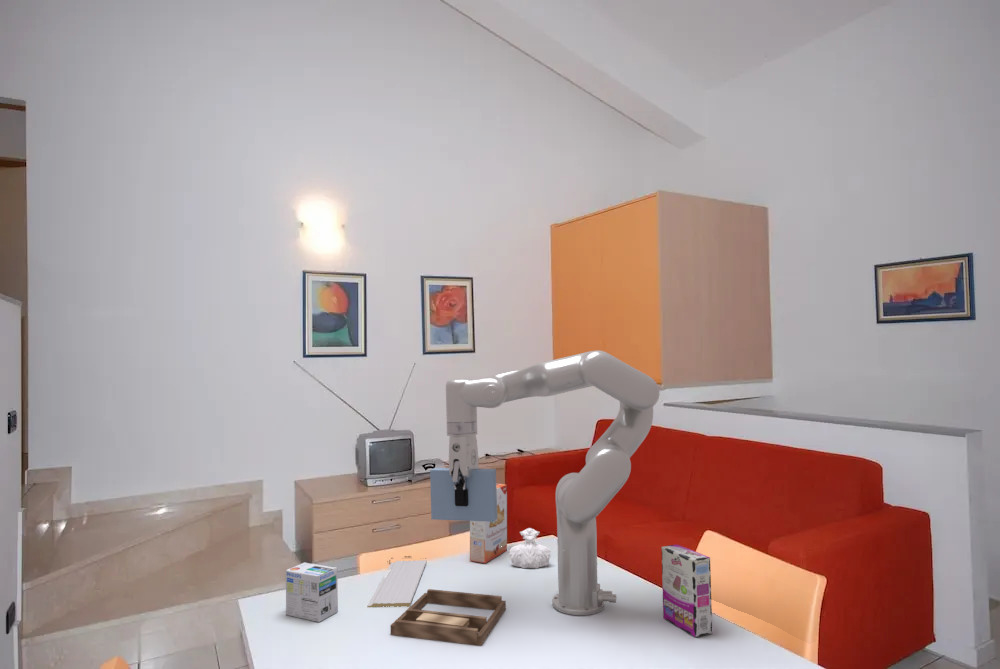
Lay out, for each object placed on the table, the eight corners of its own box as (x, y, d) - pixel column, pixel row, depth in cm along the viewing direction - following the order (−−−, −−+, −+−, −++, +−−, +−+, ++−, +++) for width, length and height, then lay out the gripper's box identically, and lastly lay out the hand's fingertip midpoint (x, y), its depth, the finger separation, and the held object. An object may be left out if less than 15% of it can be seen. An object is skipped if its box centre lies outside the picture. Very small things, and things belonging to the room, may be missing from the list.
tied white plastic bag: (551, 572, 175) (549, 534, 182) (551, 563, 169) (549, 524, 176) (509, 572, 175) (510, 534, 183) (508, 563, 170) (509, 524, 177)
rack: (505, 609, 144) (505, 596, 144) (481, 645, 126) (481, 631, 126) (425, 600, 150) (425, 588, 150) (390, 634, 132) (390, 620, 132)
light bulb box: (339, 612, 145) (338, 566, 145) (319, 623, 139) (319, 575, 139) (304, 605, 149) (304, 561, 150) (284, 615, 143) (284, 569, 143)
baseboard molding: (361, 609, 147) (410, 609, 147) (361, 597, 147) (410, 597, 147) (386, 566, 178) (426, 565, 178) (386, 556, 178) (426, 555, 178)
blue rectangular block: (497, 518, 147) (495, 468, 147) (494, 521, 144) (492, 471, 144) (435, 516, 151) (434, 468, 151) (431, 519, 148) (430, 470, 148)
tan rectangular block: (470, 634, 132) (469, 618, 133) (463, 642, 129) (462, 626, 129) (421, 626, 136) (421, 612, 137) (412, 634, 133) (412, 619, 133)
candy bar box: (714, 634, 130) (711, 557, 130) (695, 638, 128) (693, 560, 128) (679, 614, 140) (677, 542, 141) (662, 618, 138) (660, 545, 139)
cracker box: (486, 564, 176) (485, 492, 177) (469, 561, 179) (468, 490, 180) (508, 550, 188) (507, 483, 189) (491, 548, 191) (490, 482, 192)
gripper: (466, 432, 139) (468, 513, 138) (485, 425, 155) (487, 496, 154) (436, 432, 141) (438, 512, 140) (458, 425, 157) (459, 496, 156)
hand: (464, 503), depth 147 cm, fingers closed on blue rectangular block, 3 cm apart
